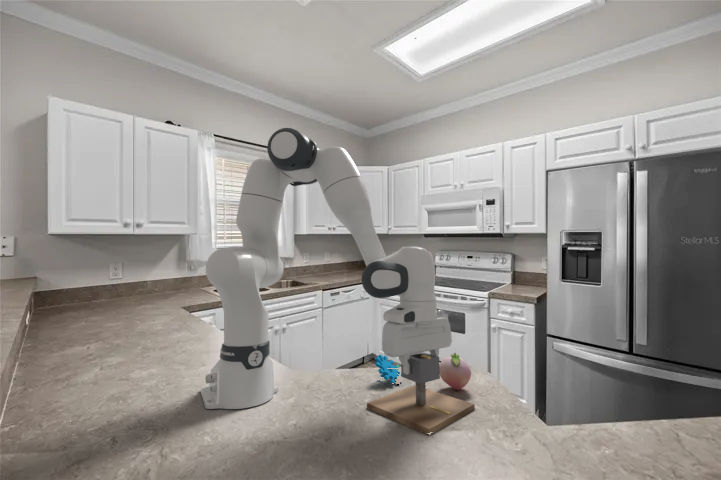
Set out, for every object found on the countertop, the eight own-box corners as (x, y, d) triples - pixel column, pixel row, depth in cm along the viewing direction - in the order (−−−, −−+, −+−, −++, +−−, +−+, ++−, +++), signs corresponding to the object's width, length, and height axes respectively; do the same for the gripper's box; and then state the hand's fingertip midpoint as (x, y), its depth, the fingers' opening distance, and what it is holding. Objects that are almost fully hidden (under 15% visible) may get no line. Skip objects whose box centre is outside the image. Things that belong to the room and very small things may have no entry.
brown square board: (366, 408, 77) (366, 376, 77) (413, 389, 89) (413, 362, 90) (429, 435, 63) (428, 397, 64) (474, 409, 76) (473, 377, 76)
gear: (392, 384, 88) (372, 354, 94) (378, 397, 90) (360, 366, 95) (411, 379, 97) (392, 352, 102) (398, 391, 98) (380, 363, 104)
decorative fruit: (437, 383, 93) (436, 348, 94) (466, 384, 93) (464, 349, 94) (442, 396, 84) (441, 356, 85) (474, 396, 83) (473, 357, 84)
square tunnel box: (401, 376, 77) (400, 353, 78) (420, 372, 81) (419, 350, 82) (420, 383, 72) (419, 359, 73) (439, 378, 76) (439, 355, 76)
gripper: (437, 308, 87) (439, 360, 85) (377, 313, 75) (378, 375, 74) (456, 310, 82) (458, 366, 80) (395, 316, 70) (396, 382, 69)
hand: (419, 370), depth 77 cm, fingers closed on square tunnel box, 6 cm apart
